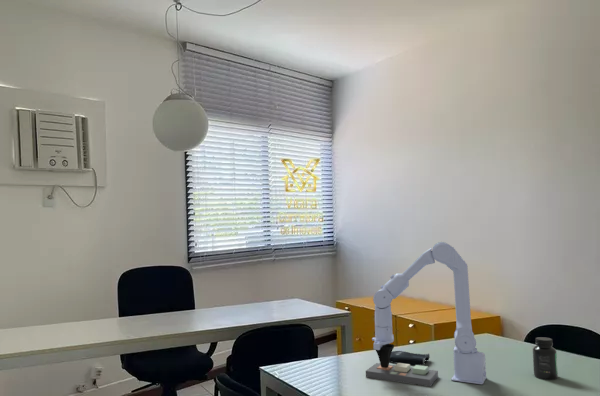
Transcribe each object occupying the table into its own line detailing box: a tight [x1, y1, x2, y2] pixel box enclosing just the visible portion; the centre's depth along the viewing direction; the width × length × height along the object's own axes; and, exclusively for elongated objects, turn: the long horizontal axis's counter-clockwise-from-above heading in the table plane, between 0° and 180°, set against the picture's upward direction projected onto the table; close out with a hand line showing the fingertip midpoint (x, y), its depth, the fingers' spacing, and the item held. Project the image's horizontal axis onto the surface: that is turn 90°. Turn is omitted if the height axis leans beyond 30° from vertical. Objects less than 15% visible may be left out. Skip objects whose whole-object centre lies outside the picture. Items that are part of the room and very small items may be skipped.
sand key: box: [394, 363, 411, 373], centre depth 156 cm, size 4×4×2 cm
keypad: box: [365, 362, 439, 387], centre depth 155 cm, size 21×10×2 cm, turn 60°
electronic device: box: [389, 350, 431, 366], centre depth 173 cm, size 9×6×15 cm
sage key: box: [412, 365, 429, 375], centre depth 153 cm, size 4×4×2 cm
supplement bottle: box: [532, 336, 559, 381], centre depth 153 cm, size 7×7×12 cm
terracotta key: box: [377, 365, 393, 370], centre depth 159 cm, size 4×4×2 cm
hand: (384, 367), depth 159 cm, fingers closed, pressing on terracotta key
